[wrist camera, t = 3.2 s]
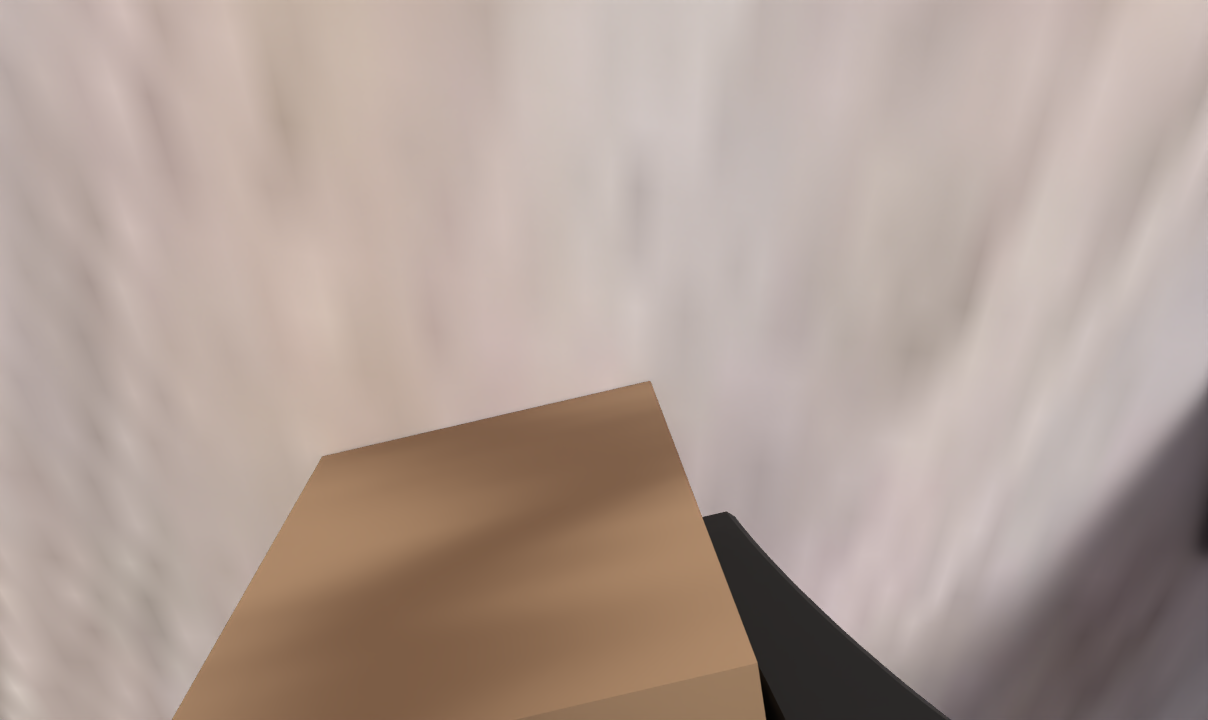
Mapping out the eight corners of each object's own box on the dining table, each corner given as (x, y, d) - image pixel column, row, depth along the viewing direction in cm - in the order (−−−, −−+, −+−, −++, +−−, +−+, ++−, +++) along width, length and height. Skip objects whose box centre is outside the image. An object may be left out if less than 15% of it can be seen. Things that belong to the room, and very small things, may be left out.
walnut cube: (650, 380, 9) (758, 663, 5) (697, 621, 11) (803, 976, 7) (321, 456, 9) (119, 812, 5) (429, 683, 11) (358, 1083, 7)
